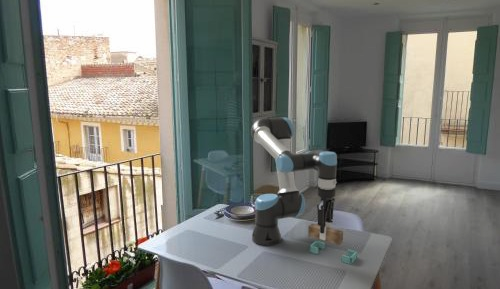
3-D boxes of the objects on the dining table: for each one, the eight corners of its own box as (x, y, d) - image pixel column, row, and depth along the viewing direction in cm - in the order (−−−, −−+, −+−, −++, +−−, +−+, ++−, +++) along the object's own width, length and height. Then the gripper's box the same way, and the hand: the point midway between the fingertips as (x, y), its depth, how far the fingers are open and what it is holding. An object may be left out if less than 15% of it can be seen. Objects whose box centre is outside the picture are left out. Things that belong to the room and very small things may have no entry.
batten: (308, 236, 161) (308, 226, 160) (311, 233, 164) (311, 223, 163) (339, 244, 152) (340, 233, 151) (342, 242, 155) (343, 231, 154)
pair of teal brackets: (309, 251, 170) (309, 245, 170) (316, 246, 176) (316, 240, 176) (351, 264, 158) (351, 258, 158) (357, 257, 164) (357, 251, 164)
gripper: (326, 193, 145) (324, 246, 149) (342, 184, 158) (339, 233, 162) (310, 190, 150) (308, 242, 154) (326, 181, 163) (324, 229, 167)
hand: (324, 237), depth 158 cm, fingers closed on batten, 3 cm apart
